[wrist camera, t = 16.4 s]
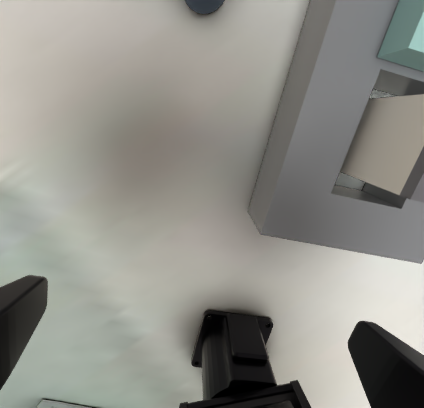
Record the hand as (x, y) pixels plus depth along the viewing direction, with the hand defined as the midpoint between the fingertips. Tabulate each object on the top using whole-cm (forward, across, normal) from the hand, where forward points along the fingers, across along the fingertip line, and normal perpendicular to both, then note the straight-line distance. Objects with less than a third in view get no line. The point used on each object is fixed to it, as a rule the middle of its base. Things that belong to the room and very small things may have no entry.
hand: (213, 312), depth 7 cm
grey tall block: (+12, -10, -6) cm, 17 cm away
